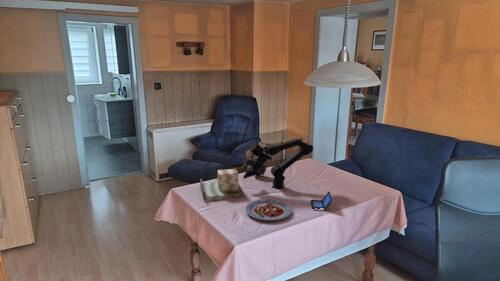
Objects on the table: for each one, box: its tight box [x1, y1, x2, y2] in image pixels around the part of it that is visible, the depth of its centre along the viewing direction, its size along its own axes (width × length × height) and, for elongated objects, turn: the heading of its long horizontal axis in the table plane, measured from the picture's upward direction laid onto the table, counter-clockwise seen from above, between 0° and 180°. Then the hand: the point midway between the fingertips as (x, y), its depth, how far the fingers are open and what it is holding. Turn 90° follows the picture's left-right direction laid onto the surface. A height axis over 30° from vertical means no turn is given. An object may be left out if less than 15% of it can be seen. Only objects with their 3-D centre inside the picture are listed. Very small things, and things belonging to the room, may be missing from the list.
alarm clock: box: [258, 162, 267, 176], centre depth 233 cm, size 11×5×16 cm, turn 84°
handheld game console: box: [310, 191, 333, 210], centre depth 189 cm, size 12×11×7 cm
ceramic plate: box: [244, 198, 292, 221], centre depth 181 cm, size 26×26×3 cm
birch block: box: [216, 168, 239, 191], centre depth 206 cm, size 12×8×11 cm, turn 104°
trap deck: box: [199, 178, 245, 202], centre depth 206 cm, size 25×22×6 cm
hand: (243, 178), depth 208 cm, fingers closed
